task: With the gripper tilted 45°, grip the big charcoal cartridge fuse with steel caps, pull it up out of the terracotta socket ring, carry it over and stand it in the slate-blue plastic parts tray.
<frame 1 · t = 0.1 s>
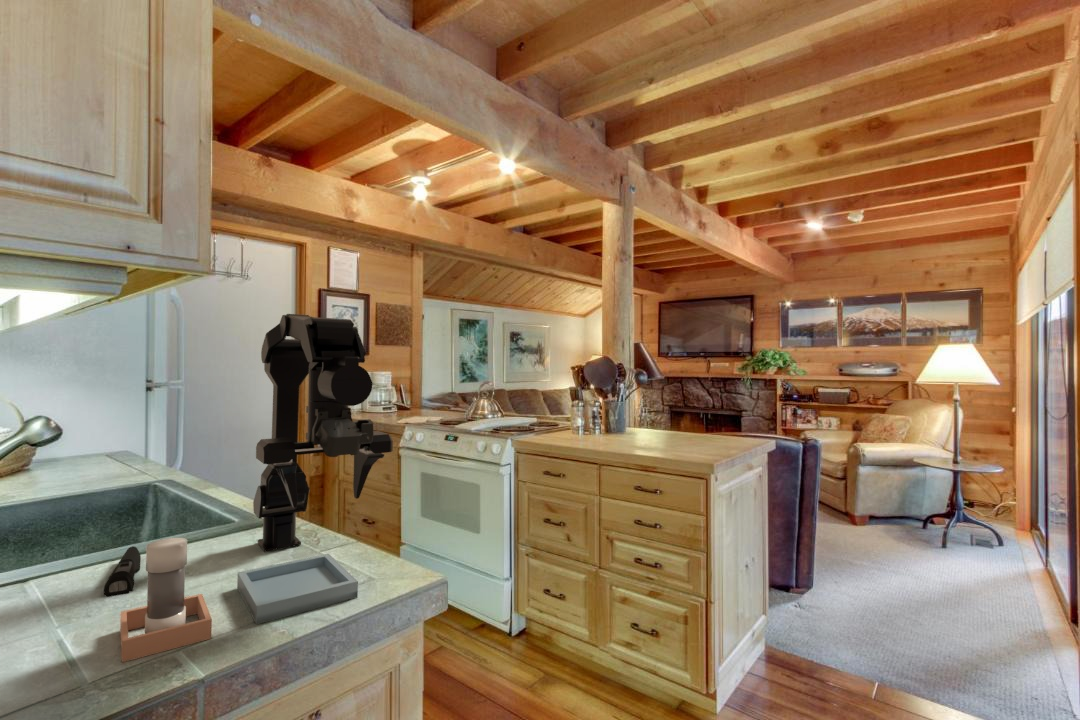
hand: (326, 502, 82), 15 cm above the counter, tool pointing down, fingers open, 9 cm apart
socket ring: (165, 634, 71), on the counter
parts tray: (296, 592, 84), on the counter
electric trimmer: (123, 580, 88), on the counter
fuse: (166, 589, 70), in the socket ring
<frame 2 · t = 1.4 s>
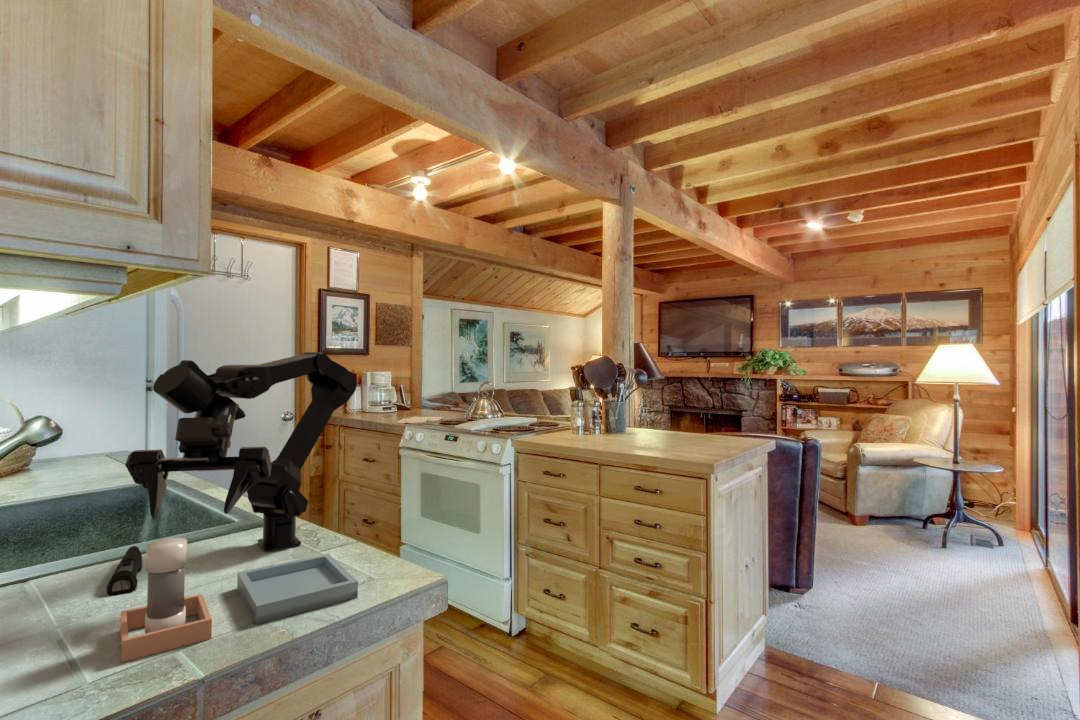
hand: (190, 514, 78), 13 cm above the counter, tool tilted 45°, fingers open, 9 cm apart
nothing on the counter moved.
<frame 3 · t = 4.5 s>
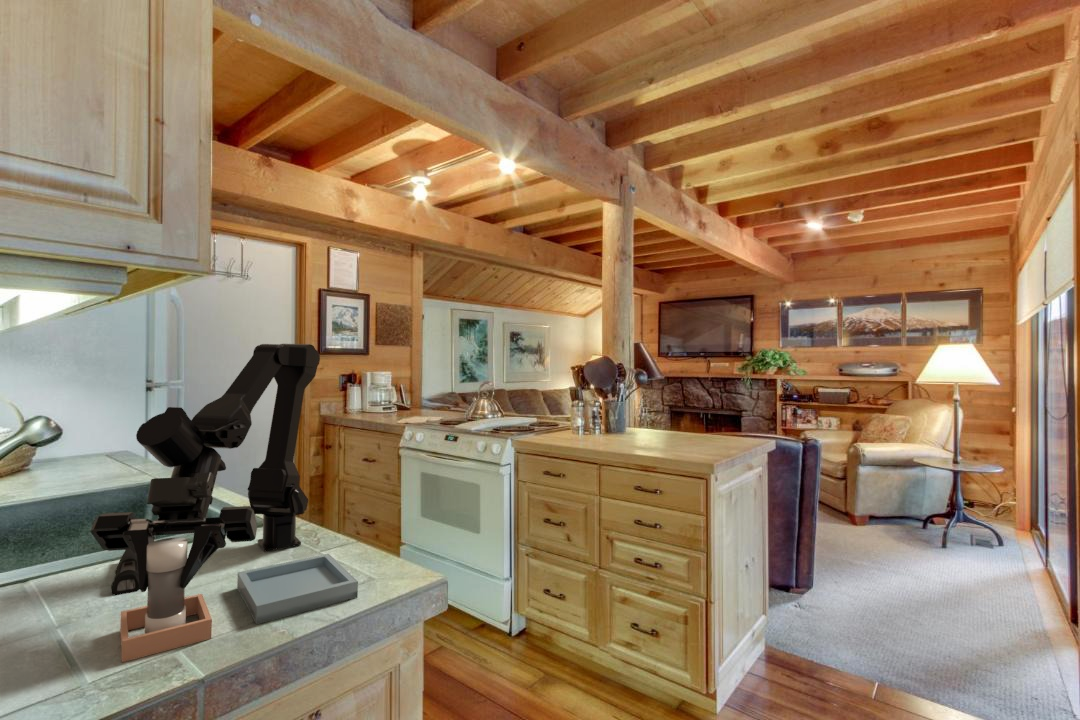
hand: (162, 588, 69), 7 cm above the counter, tool tilted 45°, fingers closed on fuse, 4 cm apart
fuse: (166, 588, 71), in the socket ring, touching gripper
everything else where it was.
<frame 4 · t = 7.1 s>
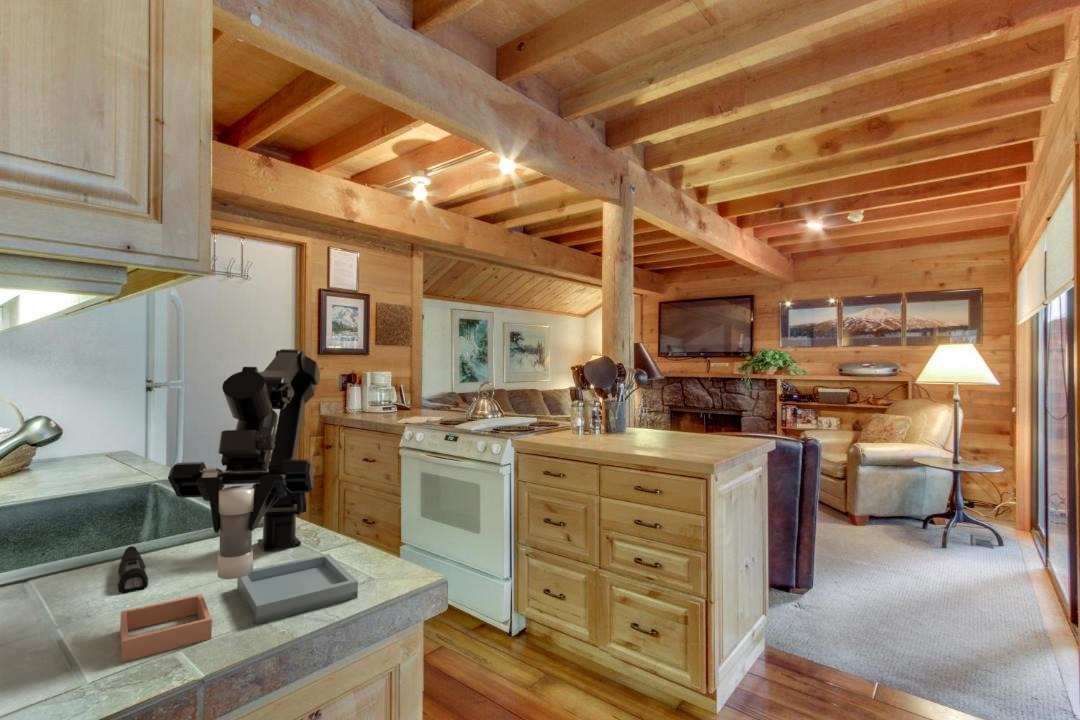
hand: (233, 530, 76), 12 cm above the counter, tool tilted 45°, fingers closed on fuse, 4 cm apart
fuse: (236, 531, 77), point 12 cm above the counter, touching gripper
when the fingers open (8 cm above the counter, at t = 9.1 s): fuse stays where it is, resting on parts tray.
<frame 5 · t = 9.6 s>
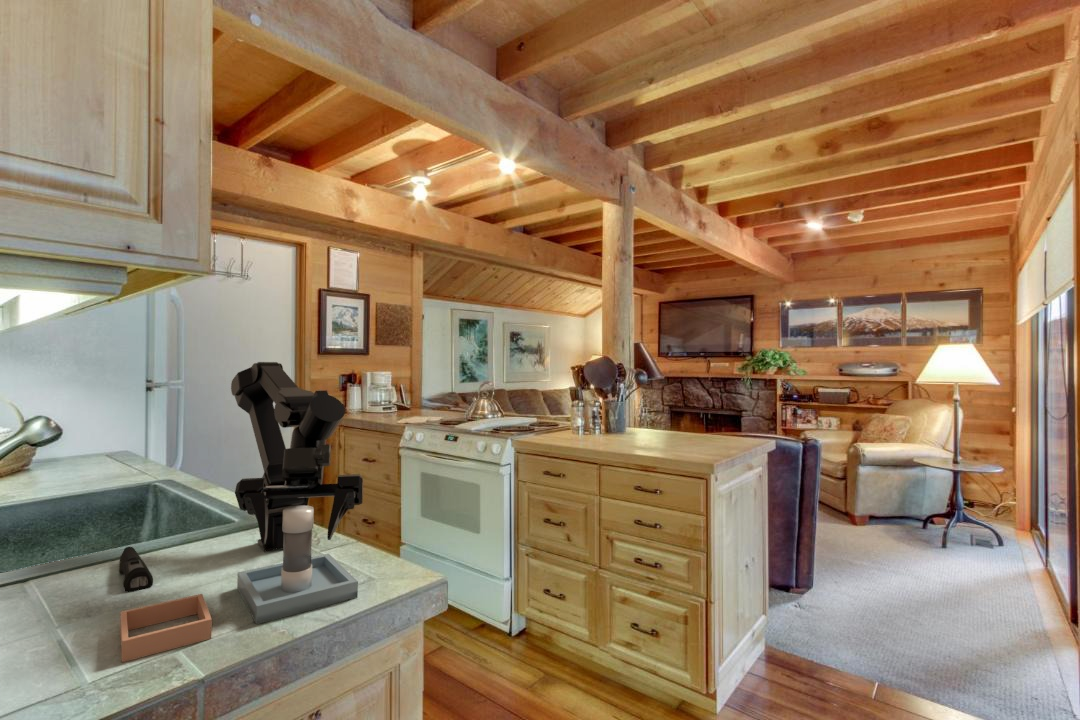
hand: (296, 541, 82), 9 cm above the counter, tool tilted 45°, fingers open, 9 cm apart
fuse: (297, 547, 83), in the parts tray, point 7 cm above the counter
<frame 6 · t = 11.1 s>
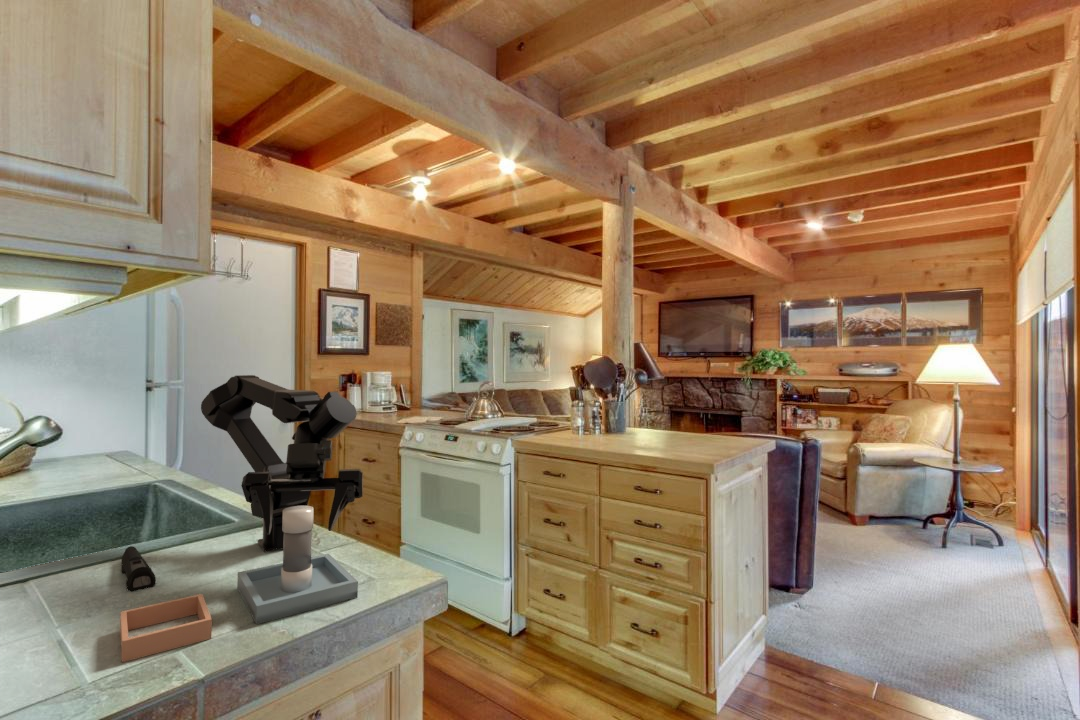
hand: (299, 531, 87), 8 cm above the counter, tool tilted 45°, fingers open, 9 cm apart
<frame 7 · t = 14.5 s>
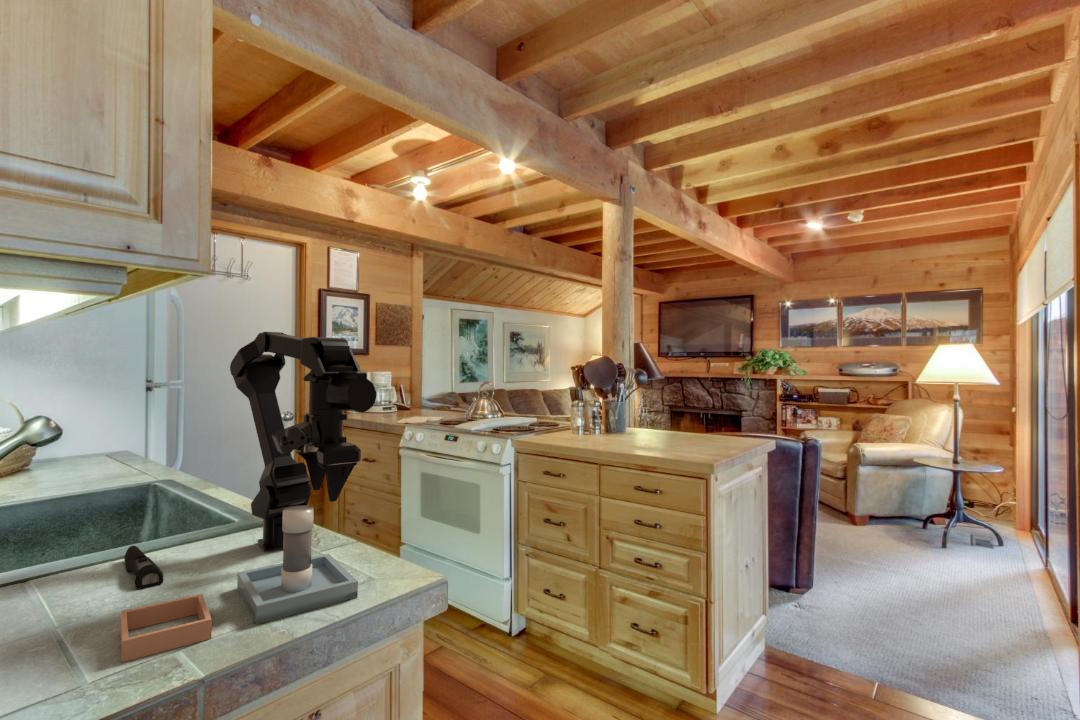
hand: (324, 495, 96), 12 cm above the counter, tool pointing down, fingers open, 9 cm apart
at the end: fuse inside the target area on the parts tray (0.0 cm from its centre), point 7.0 cm above the parts tray's base; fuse tilted 0°; the gripper is holding nothing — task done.
